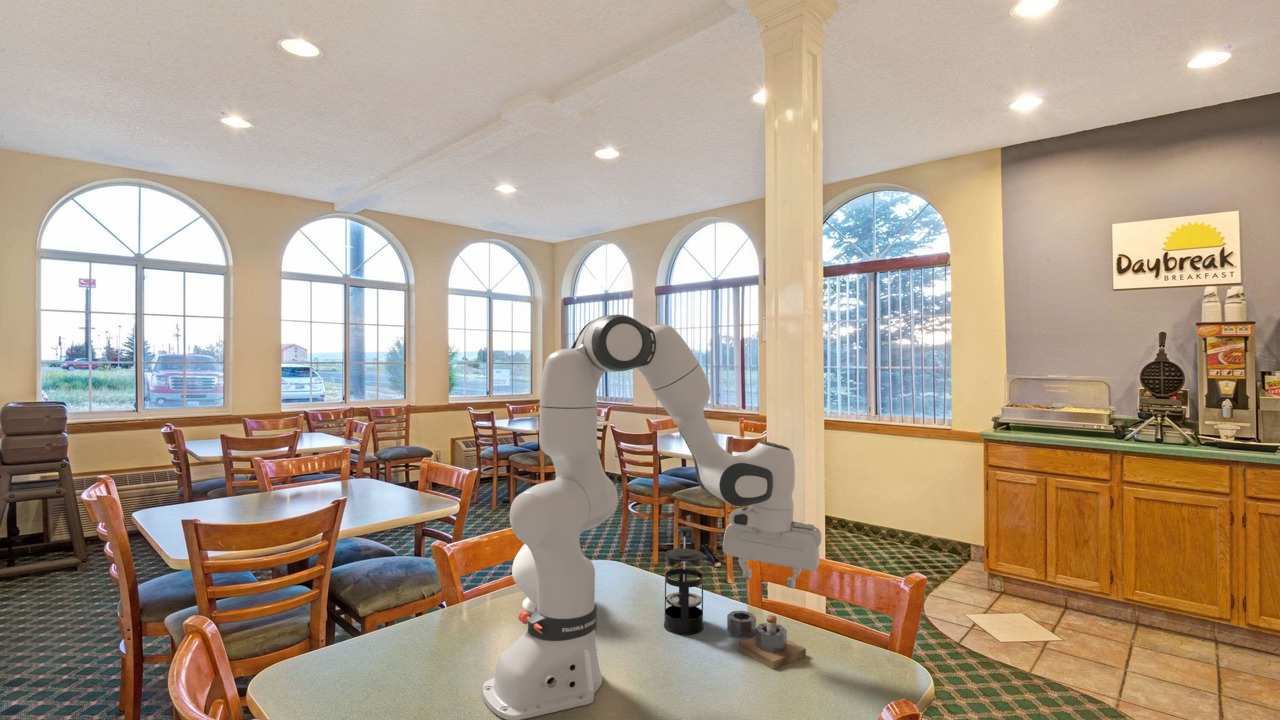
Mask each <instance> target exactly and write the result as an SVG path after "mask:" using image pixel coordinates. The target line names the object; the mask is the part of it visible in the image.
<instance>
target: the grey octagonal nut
mask: <svg viewBox="0 0 1280 720" xmlns="http://www.w3.org/2000/svg"><path fill="white" fill-rule="evenodd" d="M787 635H788V630H787V629H786V628H785V626H783V625H781V624H777V623H776V633H769V632H767V622H765V623H758V625H756V633H755V636H756V646H757V647H758V648H760V649H761V650H763V651H767V652H771V653H776V652H783V651H784V650H785V648H786V647H787V640H788V637H787Z"/></svg>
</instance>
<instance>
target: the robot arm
mask: <svg viewBox="0 0 1280 720" xmlns="http://www.w3.org/2000/svg"><path fill="white" fill-rule="evenodd" d="M633 369H637V370H638V371H639V372H640V373H641V374H642V375H643V377H645V380H646V382H647V383H648V385H649V387H650V389H651V390H652V393H653V394H654V396H655V397H656V399H657V400H658V402H659V403H660V404H661V406H662V408H664V410H665V411H666V413H667V414H668V415H669V417H670V418H671V419H672V421H673V422H674V423H675V425H676V426H677V428H678V432H679V433H680V435H681V436H682V438H683V441H684V442H685V444H686V446H687V448H688V450H689V451H690V453H691V456H692V458H693V462H694V469H695V470H694V471H695V476H696V481H697V483H698V485H699V486H700V488H701V489H702V490H703V491H704V492H706V493H707V494H710V495H713V496H715V497H717V498H718V499H720V500H721V501H723V502H725V503H727V504H728V505H731V506H734V507H739V508H736V509H735V510H733V511H732V512H731V513H730V514H729V516H728V521H729V522H728V523H729V524H728V525H727V526H726V528H725V529H724V530H725V531H724V534H723V541H722V551H723V553H724V554H725V555H726V556H727V557H729V556H730V557H734V558H738V564H739V567H740V568H741V570H742V579H744V580H750V579H752V569H751V568H749V567H748V565H747V563H746V562H747V561H748V560H751V561H755V562H760V563H766V564H770V565H771V564H772V565H778V566H782V567H787V568H792V573H794V574H793V576H792V577H791V576H788V577H787V579H786V588H788V589H795V587H796V581H797V578H798V577H799V576H800V574H801V572H802V570H804V571H808V572H814V571H816V570H817V569H818V567H819V565H820V549H819V547H820V545H822V533H821V530H820V529H819V528H818V527H816V526H815V524H814V525H813V524H810V523H802V522H798V521H794V501H793V492H794V489H795V479H796V478H795V477H796V475H795V474H796V472H795V471H796V469H795V468H796V467H795V457H794V454H793V451H792V450H791V449H790V448H789V447H787V446H785V445H781V444H777V443H774V442H770V441H759V442H758V443H757V444H756V445H755V446H754V447H753V448H751V449H749V450H748V451H746V452H744V453H741V454H739V455H736V456H735V455H733V454H731V453H729V452H728V451H727V450H725V449H724V448H723V447H722V446H721V445H720V444H719V443H718V440H717V439H716V436H715V435H714V433H713V431H712V429H711V426H710V425H709V424H708V421H707V419H706V417H705V414H704V413H705V412H704V411H705V408H706V406H707V404H708V401H709V400H710V396H711V388H710V387H711V386H710V384H709V382H708V379H707V376H706V374H705V371H704V369H703V367H702V366H701V364H700V362H699V361H698V359H697V358H696V356H695V354H694V353H693V351H692V349H691V348H690V346H689V345H688V344H687V342H686V341H685V340H684V338H683V337H682V336H681V335H680V334H679V333H678V331H677V330H676V329H675V328H674V327H672V326H671V325H668V324H655V325H652V326H649V327H648V326H646V325H645V324H643V323H641V322H640V321H638V320H637V319H635V318H633V317H632V316H628V315H625V314H612V315H611V314H608V315H607V314H606V315H603V316H600V317H597V318H596V319H593V320H591V321H589V322H587V324H585V326H584V327H583V328H582V329H581V330H580V332H579V333H578V335H577V337H576V339H575V340H574V342H573V344H572V346H571V347H570V348H561V349H558V350H556V351H554V352H552V353H551V354H549V356H547V358H546V360H545V362H544V366H543V371H542V375H541V377H542V378H541V382H540V393H539V415H538V416H539V419H538V420H539V424H538V425H539V426H538V427H539V430H538V432H539V433H538V435H539V437H538V444H539V446H540V449H541V451H542V452H543V453H544V454H545V455H547V456H548V457H550V460H551V462H552V464H553V467H554V471H555V479H553V480H549V481H545V482H541V483H538V484H535V485H533V486H530V487H529V488H527V489H526V490H524V491H523V492H521V493H519V494H518V495H516V496H515V498H514V499H513V501H512V503H511V505H510V509H509V522H510V527H511V530H512V532H513V533H514V536H516V538H517V539H518V540H519V541H521V542H522V543H523V544H526V545H527V546H528V548H529V549H530V551H531V553H532V556H533V559H534V562H535V566H536V574H537V606H536V608H535V610H534V612H533V613H531V614H530V612H528V611H526V610H525V609H522V610H521V611H519V613H518V615H517V619H518V620H519V621H520V623H522V624H523V625H527V629H526V631H524V632H523V634H521V635H520V636H519V637H518V638H517V639H516V640H515V641H514V642H513V643H512V644H511V645H510V646H509V647H508V648H506V650H505V651H504V652H503V653H502V654H501V655H500V656H499V657H498V661H497V663H496V668H495V673H494V677H492V678H491V679H488V680H485V681H484V683H483V686H482V690H481V696H482V699H483V701H484V703H485V704H486V706H487V707H488V709H490V711H492V713H494V714H495V715H496V716H498V717H500V718H501V719H504V720H526V719H529V718H534V717H538V716H543V715H547V714H551V713H556V712H561V711H565V710H568V709H572V708H577V707H582V706H586V705H589V704H592V703H593V702H594V700H595V694H596V692H597V691H598V690H599V689H600V688H601V686H602V683H603V676H602V673H601V669H600V664H599V657H598V653H597V652H598V651H597V643H596V631H597V625H598V624H597V623H598V614H597V613H598V612H597V610H598V609H597V605H596V603H595V601H596V600H595V599H596V598H595V597H596V596H595V594H596V593H595V592H596V591H595V589H596V587H595V586H596V581H595V580H596V569H595V566H594V563H593V562H592V561H591V560H590V559H589V558H588V557H587V556H585V555H583V551H582V549H581V544H580V536H581V533H583V532H585V531H589V530H592V529H594V528H596V527H599V526H600V525H601V524H603V523H605V521H607V520H608V519H609V518H610V517H612V515H614V513H615V511H616V510H617V506H618V504H619V503H618V501H619V495H618V490H617V487H616V485H615V484H614V482H613V481H612V480H611V479H610V478H609V476H608V475H607V474H606V472H605V470H604V467H603V465H602V461H601V458H600V457H601V456H600V452H599V447H598V446H599V445H598V395H597V394H598V393H597V391H598V386H599V383H600V380H601V378H602V377H603V375H604V374H605V373H606V372H608V373H611V372H612V373H613V372H614V373H617V372H624V371H630V370H633Z"/></svg>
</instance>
